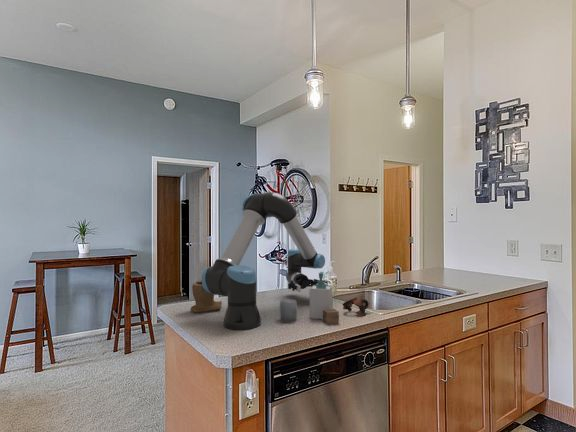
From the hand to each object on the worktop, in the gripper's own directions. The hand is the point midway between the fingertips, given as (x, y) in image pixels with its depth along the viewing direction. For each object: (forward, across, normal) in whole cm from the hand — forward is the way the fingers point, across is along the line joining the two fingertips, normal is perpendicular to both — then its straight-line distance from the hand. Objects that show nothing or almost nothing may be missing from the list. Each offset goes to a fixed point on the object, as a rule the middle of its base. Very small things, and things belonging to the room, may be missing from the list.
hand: (313, 288), depth 166 cm
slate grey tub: (+10, +15, -11) cm, 21 cm away
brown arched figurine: (+11, -16, -11) cm, 22 cm away
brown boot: (-17, +48, -11) cm, 52 cm away
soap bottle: (+10, 0, -11) cm, 15 cm away
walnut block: (+20, 0, -11) cm, 22 cm away
